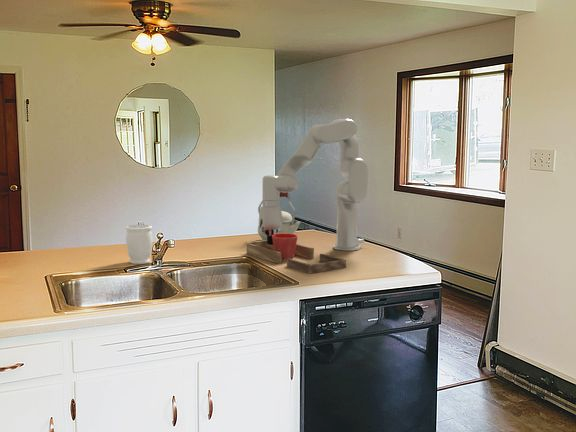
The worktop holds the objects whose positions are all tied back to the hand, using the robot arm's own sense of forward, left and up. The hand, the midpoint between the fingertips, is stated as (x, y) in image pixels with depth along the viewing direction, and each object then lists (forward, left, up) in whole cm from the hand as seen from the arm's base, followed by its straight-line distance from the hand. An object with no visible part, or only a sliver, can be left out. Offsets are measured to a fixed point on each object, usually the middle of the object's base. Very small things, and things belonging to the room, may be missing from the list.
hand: (270, 244), depth 264 cm
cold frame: (0, +7, -4) cm, 8 cm away
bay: (0, +32, -4) cm, 32 cm away
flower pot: (0, +11, -4) cm, 11 cm away
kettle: (-20, -21, -4) cm, 30 cm away
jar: (+55, -15, -4) cm, 57 cm away
